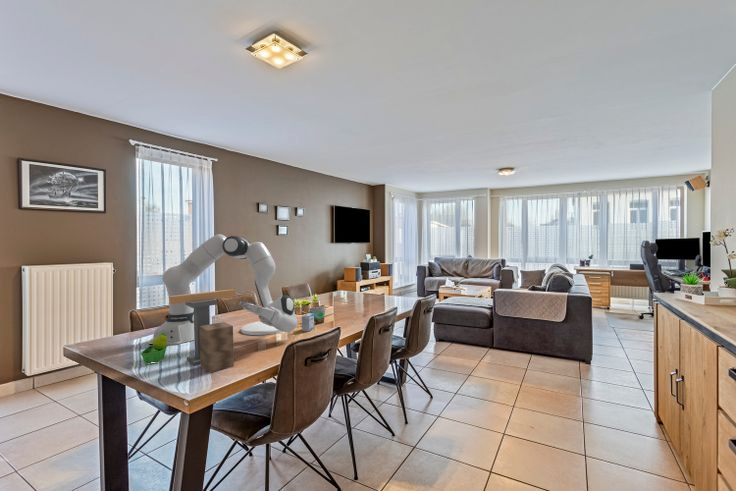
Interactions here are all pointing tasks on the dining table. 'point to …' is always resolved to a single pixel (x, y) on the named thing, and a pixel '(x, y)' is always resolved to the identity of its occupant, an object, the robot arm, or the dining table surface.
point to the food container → (318, 314)
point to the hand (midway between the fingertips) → (243, 304)
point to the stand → (199, 324)
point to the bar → (201, 296)
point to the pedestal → (216, 346)
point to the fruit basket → (155, 350)
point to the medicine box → (308, 322)
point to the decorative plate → (258, 329)
